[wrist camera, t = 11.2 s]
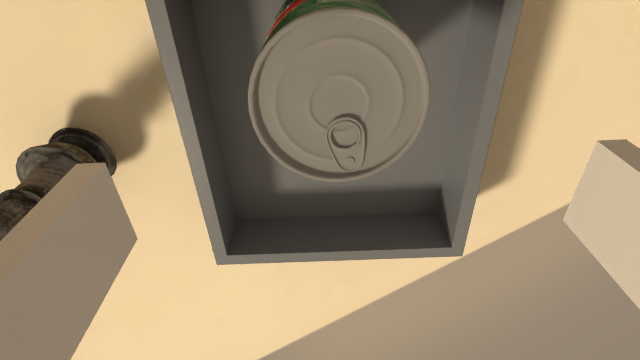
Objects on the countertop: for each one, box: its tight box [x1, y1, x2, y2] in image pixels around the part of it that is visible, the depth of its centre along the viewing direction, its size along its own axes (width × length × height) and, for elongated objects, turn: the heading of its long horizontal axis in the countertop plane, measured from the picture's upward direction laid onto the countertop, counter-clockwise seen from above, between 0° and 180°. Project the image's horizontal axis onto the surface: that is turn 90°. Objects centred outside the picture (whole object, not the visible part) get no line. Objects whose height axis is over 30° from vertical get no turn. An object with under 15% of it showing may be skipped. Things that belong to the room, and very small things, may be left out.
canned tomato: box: [248, 0, 430, 182], centre depth 21 cm, size 8×8×11 cm
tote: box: [145, 0, 523, 265], centre depth 27 cm, size 22×20×6 cm
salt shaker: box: [0, 128, 116, 241], centre depth 26 cm, size 6×6×12 cm
